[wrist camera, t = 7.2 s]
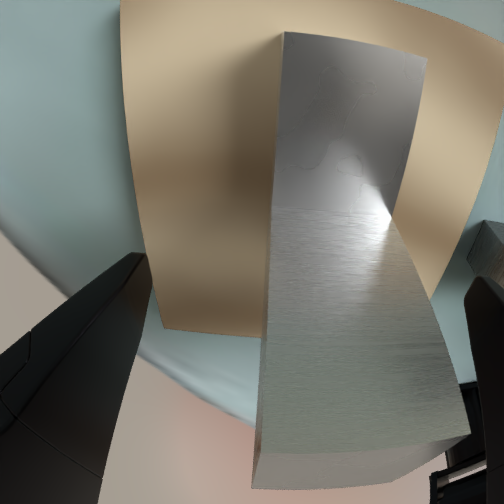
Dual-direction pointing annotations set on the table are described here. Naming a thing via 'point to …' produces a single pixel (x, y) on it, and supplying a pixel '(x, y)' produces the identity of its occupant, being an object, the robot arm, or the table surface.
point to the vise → (489, 252)
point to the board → (263, 135)
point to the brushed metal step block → (346, 280)
